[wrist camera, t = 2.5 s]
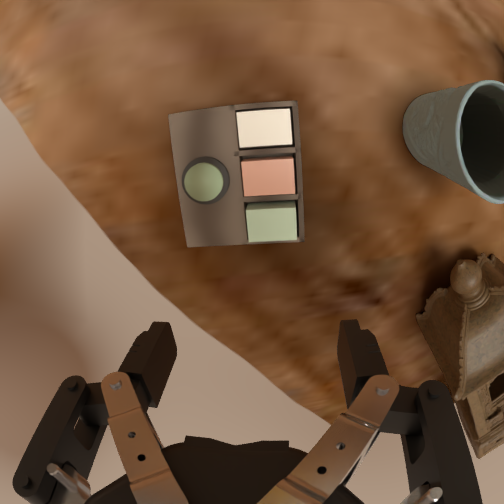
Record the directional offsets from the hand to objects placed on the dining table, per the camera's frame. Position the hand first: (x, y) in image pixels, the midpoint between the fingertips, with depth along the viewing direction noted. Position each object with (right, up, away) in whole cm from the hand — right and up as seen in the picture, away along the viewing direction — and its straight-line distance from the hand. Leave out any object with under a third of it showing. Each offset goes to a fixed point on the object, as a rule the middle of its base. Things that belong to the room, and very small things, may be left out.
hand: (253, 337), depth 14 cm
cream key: (+1, +16, +13) cm, 20 cm away
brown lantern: (+33, -6, +23) cm, 41 cm away
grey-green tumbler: (+20, +17, +13) cm, 30 cm away
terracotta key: (+2, +12, +15) cm, 19 cm away
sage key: (+2, +7, +17) cm, 18 cm away
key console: (-1, +12, +17) cm, 21 cm away
